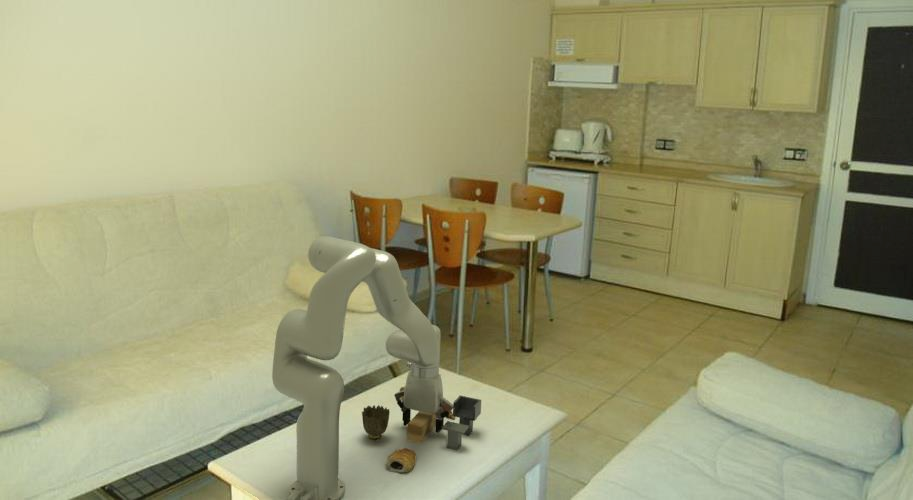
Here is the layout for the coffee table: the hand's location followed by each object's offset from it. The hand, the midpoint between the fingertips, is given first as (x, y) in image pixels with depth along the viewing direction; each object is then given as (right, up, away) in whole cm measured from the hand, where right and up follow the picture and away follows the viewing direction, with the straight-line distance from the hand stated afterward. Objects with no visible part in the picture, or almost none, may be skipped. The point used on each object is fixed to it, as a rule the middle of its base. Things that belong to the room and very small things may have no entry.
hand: (422, 427), depth 197 cm
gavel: (+2, +2, +16) cm, 16 cm away
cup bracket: (+12, -2, +1) cm, 12 cm away
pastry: (-5, -6, -17) cm, 19 cm away
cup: (-13, -2, -4) cm, 14 cm away
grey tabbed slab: (+9, -3, -7) cm, 12 cm away
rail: (0, -2, 0) cm, 1 cm away
